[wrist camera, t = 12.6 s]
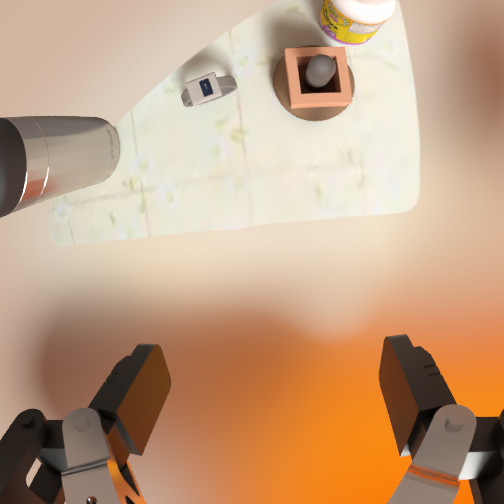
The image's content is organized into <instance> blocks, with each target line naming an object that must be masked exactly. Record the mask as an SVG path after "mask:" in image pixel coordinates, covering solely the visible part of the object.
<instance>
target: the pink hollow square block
mask: <svg viewBox="0 0 504 504" xmlns="http://www.w3.org/2000/svg"><path fill="white" fill-rule="evenodd" d="M318 54H324V55H327V56H329V57H331V58H332V59H333V61H334V62H335V65H336V70H335V73H334V75H333V76H332V78H333V85H334V93H311V94H301V90H300V82H299V74H298V66H304V65H308V64H309V61H310V60H311V58H312V57H314V56H315V55H318ZM285 64H286V72H287V80H288V88H289V96H290V105H291V109H293V108H310V107H336V106H346V105H348V104H350V103H352V95H351V87H350V79H349V72H348V65H347V58H346V52H345V47H304V48H286V49H285Z"/></svg>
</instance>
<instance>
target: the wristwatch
mask: <svg viewBox="0 0 504 504" xmlns="http://www.w3.org/2000/svg"><path fill="white" fill-rule="evenodd" d="M186 86H187V90H186V91H184V92H183V93H182V95H181V98H182V101H183V104H184V106H185V107H191V106H196V105H200V104H203V103H206V102H209V101H212V100H215V99H218V98H220V97H223V96H225V95H227V94H229V93H231V92H233V91H234V90H236V89H237V85H236V82H235V79H234V77H231V76H224V77H218V78H217V77H216V75H215V72H212V73H210V74H207V75H205V76H202V77H200V78H197V79H195V80H192V81H190V82H187V83H186Z"/></svg>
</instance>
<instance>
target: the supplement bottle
mask: <svg viewBox="0 0 504 504" xmlns="http://www.w3.org/2000/svg"><path fill="white" fill-rule="evenodd" d="M396 5H397V0H324V2H323V5H322V8H321V12H320V24H321V27H322V29H323V31H324V32H325V33H326V34H327V36H328V37H330V38H331V39H332V40H334V41H335V42H338V43H340V44H343V45H347V46H356V45H361V44H363V43H365V42H367V41H368V40H369V39H370V38H371V37H372V36H373V35H374V34H375V33H376V32H377V31H378V30H379V28H380V27H381V26H382V25H383V24H384V23H385V22H386V21H387V20H388V19H389V18H390V17H391V15H392V14H393V13H394V11H395V9H396Z"/></svg>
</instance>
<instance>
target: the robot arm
mask: <svg viewBox="0 0 504 504" xmlns="http://www.w3.org/2000/svg"><path fill="white" fill-rule="evenodd" d="M119 154H120V143H119V138H118V135H117V133H116V131H115V129H114V128H113V126H112V125H111V124H110V123H109V122H108V121H106V120H104V119H102V118H97V117H76V116H26V117H6V118H0V218H1V217H3V216H6V215H8V214H10V213H13V212H16V211H18V210H21V209H23V208H26V207H28V206H31V205H34V204H36V203H39V202H42V201H45V200H48V199H51V198H53V197H56V196H59V195H62V194H65V193H68V192H71V191H75V190H78V189H81V188H85V187H88V186H91V185H94V184H98V183H100V182H102V181H104V180H106V179H107V178H108V177H109V176H110V175H111V174H112V172H113V171H114V169H115V167H116V166H117V163H118V159H119ZM379 382H380V387H381V391H382V394H383V397H384V400H385V404H386V407H387V411H388V414H389V418H390V421H391V425H392V428H393V432H394V436H395V439H396V443H397V447H398V451H399V455H400V457H402V456H407V455H411V458H412V463H411V465H410V467H409V468H408V470H407V472H406V474H405V475H404V477H403V479H402V480H401V482H400V484H399V486H398V487H397V489H396V491H395V492H394V494H393V495H392V497H391V498H390V500H389V501H388V503H387V504H452V503H453V501H454V499H455V497H456V494H457V492H458V489H459V486H460V482H458V479H468V480H469V483H470V487H471V491H472V495H473V499H474V503H475V504H504V409H503V411H502V412H501V414H500V416H499V417H475V415H474V414H473V412H472V411H471V410H470V409H468V408H467V407H464V406H462V405H458V404H457V403H456V401H455V399H454V397H453V396H452V394H451V392H450V390H449V388H448V386H447V384H446V382H445V380H444V378H443V376H442V375H441V374H440V371H439V369H438V367H437V366H436V363H435V361H434V360H433V358H432V356H431V354H429V353H428V352H427V351H426V350H424V349H423V348H422V347H420V346H419V347H413V345H412V343H411V341H410V340H409V338H408V336H407V335H406V334H403V335H396V336H388V337H385V339H384V344H383V351H382V357H381V363H380V369H379ZM170 387H171V378H170V374H169V371H168V368H167V365H166V362H165V359H164V356H163V352H162V349H161V347H160V346H159V345H157V344H138V345H137V346H136V348H135V349H134V351H133V353H132V354H131V356H126V357H125V358H123V359H122V360H121V361H119V362H118V363H117V364H116V366H115V367H114V369H113V370H112V372H111V374H110V375H109V376H108V377H107V379H106V382H104V383H103V385H102V386H101V388H100V390H99V391H98V392H97V394H96V396H95V397H94V399H93V400H92V402H91V403H90V405H89V407H88V408H79V409H76V410H74V411H72V412H70V413H69V414H68V415H67V416H66V417H65V419H64V420H47V419H46V418H45V416H44V415H43V413H42V412H41V411H40V410H38V409H28V410H25V411H23V412H21V413H20V414H19V415H18V416H17V417H16V418H15V420H14V421H13V423H12V424H11V425H10V427H9V429H8V430H7V431H6V433H5V434H4V436H3V437H2V439H1V440H0V504H64V503H65V501H66V504H147V503H146V502H145V500H144V497H143V495H142V493H141V491H140V488H139V486H138V484H137V481H136V479H135V476H134V474H133V471H132V469H131V466H130V463H129V462H128V460H127V459H128V457H129V454H130V453H131V454H135V455H142V454H143V452H144V449H145V447H146V445H147V442H148V440H149V437H150V435H151V433H152V430H153V428H154V426H155V423H156V421H157V419H158V416H159V414H160V412H161V409H162V407H163V405H164V402H165V400H166V398H167V395H168V393H169V391H170ZM36 458H37V459H38V460H39V461H40V462H41V463H42V464H41V466H40V468H39V469H38V472H37V474H36V475H35V477H34V479H33V481H32V483H31V485H30V487H29V488H28V486H27V484H26V476H27V474H28V472H29V470H30V468H31V467H32V465H33V463H34V461H35V460H36Z"/></svg>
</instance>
